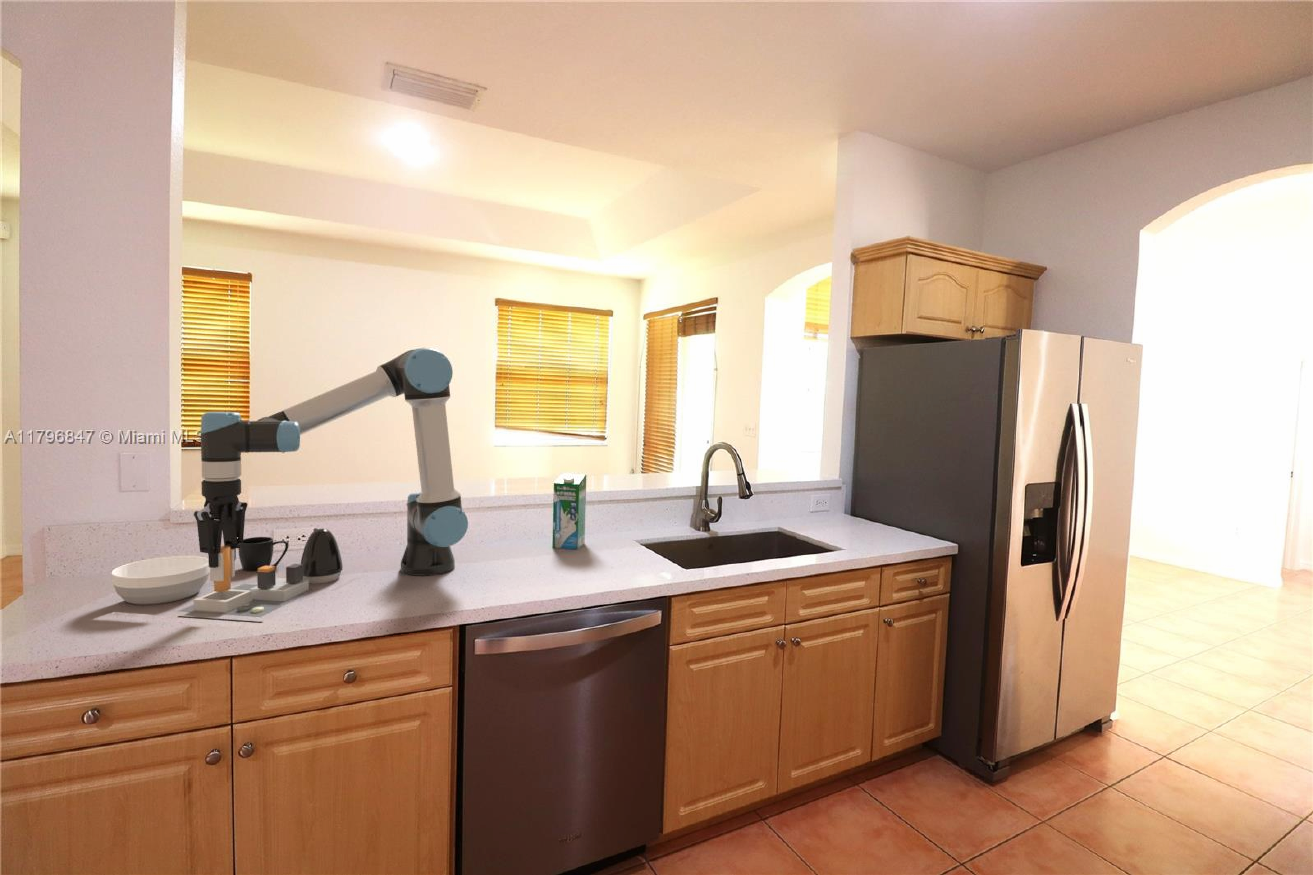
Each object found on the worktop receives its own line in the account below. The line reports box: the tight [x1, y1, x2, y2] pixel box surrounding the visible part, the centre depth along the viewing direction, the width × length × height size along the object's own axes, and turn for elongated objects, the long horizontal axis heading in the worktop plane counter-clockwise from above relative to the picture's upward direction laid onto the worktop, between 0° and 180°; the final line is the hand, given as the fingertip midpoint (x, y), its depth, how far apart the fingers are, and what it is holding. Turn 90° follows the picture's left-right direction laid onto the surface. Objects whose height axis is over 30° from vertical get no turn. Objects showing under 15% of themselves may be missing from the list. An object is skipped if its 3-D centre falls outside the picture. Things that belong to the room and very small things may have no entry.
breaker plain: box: [285, 563, 303, 583], centre depth 155 cm, size 2×3×4 cm
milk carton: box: [552, 472, 587, 550], centre depth 216 cm, size 9×9×25 cm
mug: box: [238, 536, 290, 572], centre depth 174 cm, size 8×12×10 cm
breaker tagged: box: [256, 565, 277, 589], centre depth 150 cm, size 2×3×5 cm
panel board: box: [177, 577, 316, 624], centre depth 150 cm, size 20×20×4 cm
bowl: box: [110, 555, 210, 606], centre depth 150 cm, size 19×19×9 cm
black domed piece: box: [300, 528, 344, 584], centre depth 166 cm, size 10×10×15 cm
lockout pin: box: [213, 545, 232, 592], centre depth 144 cm, size 3×3×10 cm
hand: (222, 578), depth 144 cm, fingers closed on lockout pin, 3 cm apart
